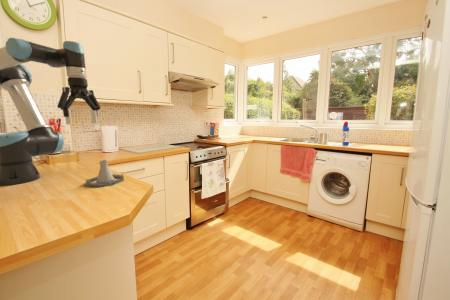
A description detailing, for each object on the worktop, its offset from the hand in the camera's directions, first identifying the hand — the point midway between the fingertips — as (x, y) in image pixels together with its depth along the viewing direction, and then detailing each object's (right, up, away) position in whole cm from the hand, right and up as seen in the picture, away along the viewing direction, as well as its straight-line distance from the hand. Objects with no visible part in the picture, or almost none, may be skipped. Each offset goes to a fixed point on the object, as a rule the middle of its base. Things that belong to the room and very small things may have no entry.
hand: (83, 123), depth 102 cm
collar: (+13, -27, -3) cm, 30 cm away
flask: (+13, -28, -3) cm, 31 cm away
